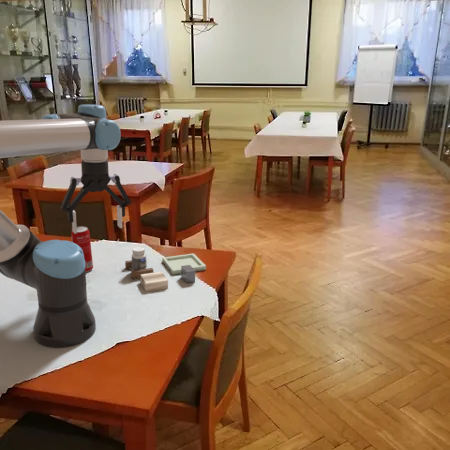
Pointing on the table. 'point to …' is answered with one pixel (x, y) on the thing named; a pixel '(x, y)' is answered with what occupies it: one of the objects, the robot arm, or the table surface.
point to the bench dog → (188, 273)
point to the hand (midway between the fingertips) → (97, 229)
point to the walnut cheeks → (137, 273)
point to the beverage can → (84, 245)
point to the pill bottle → (138, 259)
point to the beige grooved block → (154, 281)
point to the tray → (183, 263)
